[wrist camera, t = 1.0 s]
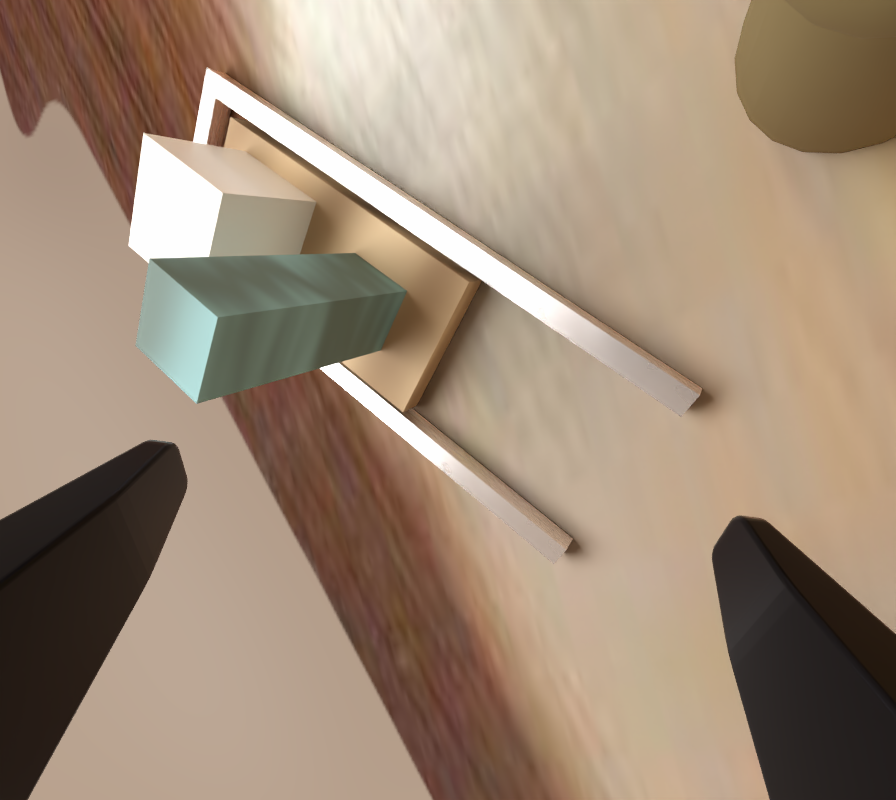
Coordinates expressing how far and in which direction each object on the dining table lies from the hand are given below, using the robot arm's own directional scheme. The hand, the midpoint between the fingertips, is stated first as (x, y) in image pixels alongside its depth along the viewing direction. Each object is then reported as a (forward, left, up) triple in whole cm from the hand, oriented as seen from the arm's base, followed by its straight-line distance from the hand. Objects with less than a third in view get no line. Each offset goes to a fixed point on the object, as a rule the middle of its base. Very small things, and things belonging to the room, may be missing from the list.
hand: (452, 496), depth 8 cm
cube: (+13, +13, -12) cm, 22 cm away
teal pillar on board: (+10, +11, -13) cm, 20 cm away
